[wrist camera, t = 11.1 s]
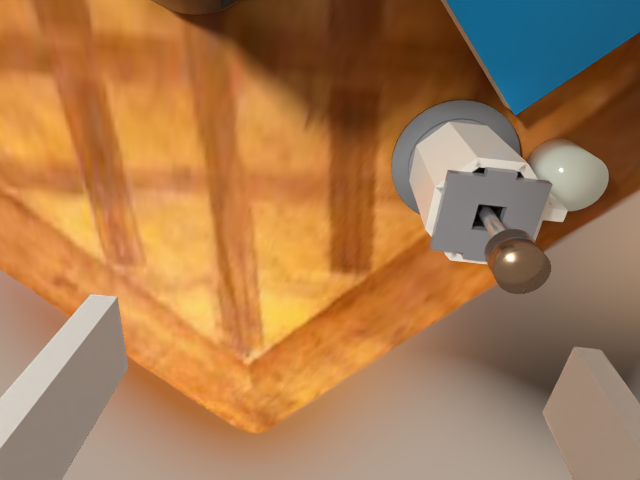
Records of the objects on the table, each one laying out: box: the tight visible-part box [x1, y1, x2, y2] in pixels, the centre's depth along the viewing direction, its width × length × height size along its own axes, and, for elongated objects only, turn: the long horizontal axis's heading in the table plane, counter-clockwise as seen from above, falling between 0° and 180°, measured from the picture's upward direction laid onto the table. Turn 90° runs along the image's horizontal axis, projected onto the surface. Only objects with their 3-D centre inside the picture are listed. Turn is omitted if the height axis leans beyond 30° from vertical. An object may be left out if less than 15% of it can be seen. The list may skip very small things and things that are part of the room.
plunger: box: [476, 204, 551, 294], centre depth 38 cm, size 4×4×16 cm
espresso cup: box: [527, 138, 609, 211], centre depth 48 cm, size 7×6×6 cm
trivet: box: [391, 99, 520, 214], centre depth 51 cm, size 14×14×1 cm
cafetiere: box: [408, 118, 568, 264], centre depth 44 cm, size 10×13×14 cm
